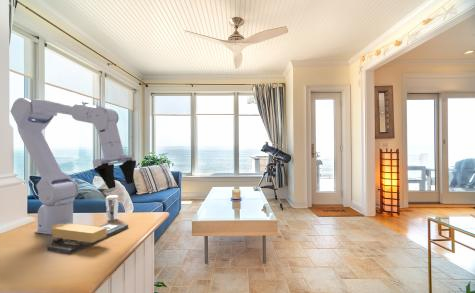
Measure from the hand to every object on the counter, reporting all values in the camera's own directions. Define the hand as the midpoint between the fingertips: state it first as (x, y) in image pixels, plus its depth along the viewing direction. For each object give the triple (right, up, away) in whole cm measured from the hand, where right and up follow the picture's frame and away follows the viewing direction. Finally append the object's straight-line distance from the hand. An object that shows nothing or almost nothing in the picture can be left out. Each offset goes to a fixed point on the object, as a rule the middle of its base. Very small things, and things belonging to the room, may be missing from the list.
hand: (121, 185), depth 74 cm
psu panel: (-7, -15, -4) cm, 17 cm away
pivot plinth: (-15, -15, -7) cm, 22 cm away
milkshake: (-10, -15, +14) cm, 23 cm away
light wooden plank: (-8, -13, -9) cm, 17 cm away
